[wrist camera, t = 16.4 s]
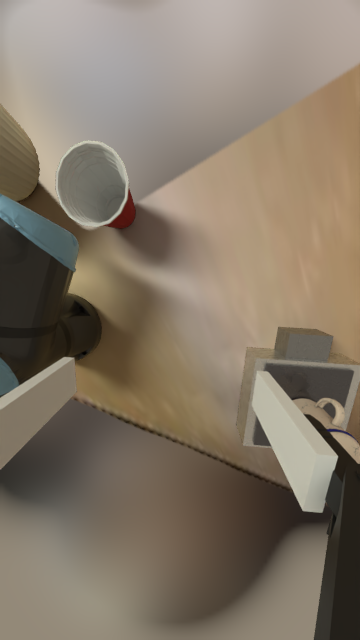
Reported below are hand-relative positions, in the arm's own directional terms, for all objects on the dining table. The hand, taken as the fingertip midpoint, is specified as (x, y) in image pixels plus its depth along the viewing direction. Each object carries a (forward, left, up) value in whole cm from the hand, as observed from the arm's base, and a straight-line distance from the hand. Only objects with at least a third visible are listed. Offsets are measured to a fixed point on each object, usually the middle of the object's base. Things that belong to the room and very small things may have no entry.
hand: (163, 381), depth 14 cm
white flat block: (+25, -14, -29) cm, 41 cm away
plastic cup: (-13, +19, -29) cm, 37 cm away
